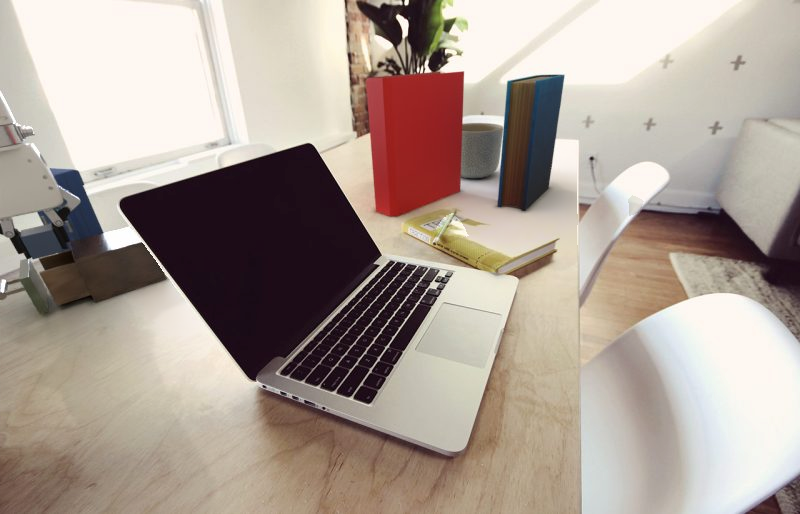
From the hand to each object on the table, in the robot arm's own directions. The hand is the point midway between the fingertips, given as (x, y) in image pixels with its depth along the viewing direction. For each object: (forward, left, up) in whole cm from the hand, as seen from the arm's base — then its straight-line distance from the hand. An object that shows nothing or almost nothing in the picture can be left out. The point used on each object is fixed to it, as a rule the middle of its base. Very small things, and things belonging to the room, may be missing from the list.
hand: (47, 250), depth 64 cm
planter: (+108, -3, -10) cm, 109 cm away
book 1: (+78, -8, -10) cm, 79 cm away
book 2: (+101, -27, -10) cm, 105 cm away
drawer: (-1, 0, -9) cm, 9 cm away
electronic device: (+4, +12, -10) cm, 16 cm away
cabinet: (+9, 0, -9) cm, 13 cm away
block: (0, 0, 0) cm, 0 cm away
